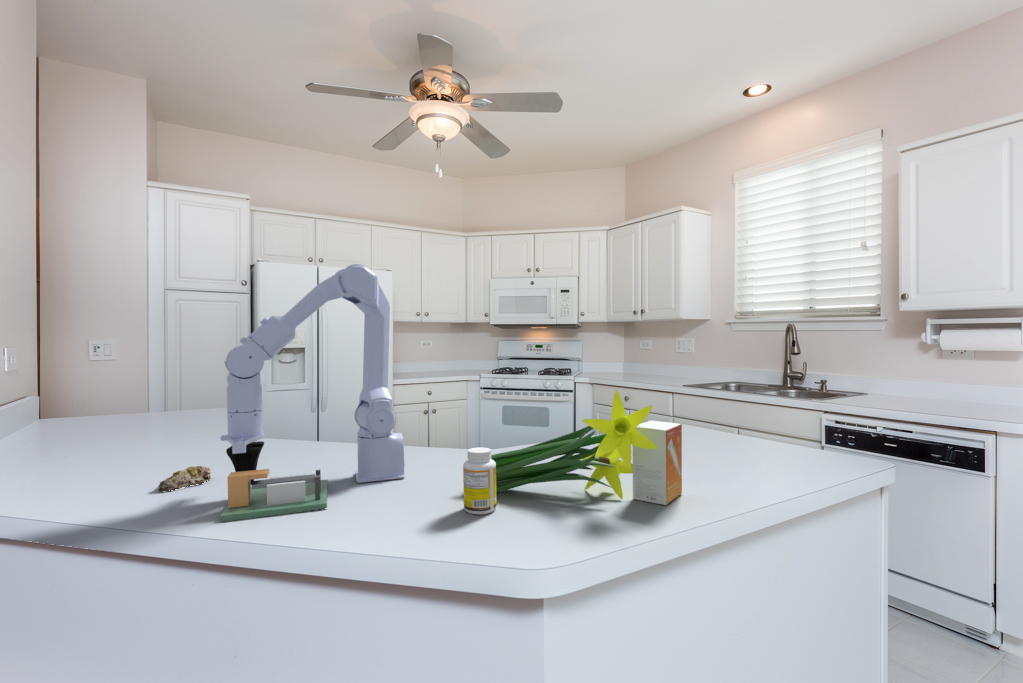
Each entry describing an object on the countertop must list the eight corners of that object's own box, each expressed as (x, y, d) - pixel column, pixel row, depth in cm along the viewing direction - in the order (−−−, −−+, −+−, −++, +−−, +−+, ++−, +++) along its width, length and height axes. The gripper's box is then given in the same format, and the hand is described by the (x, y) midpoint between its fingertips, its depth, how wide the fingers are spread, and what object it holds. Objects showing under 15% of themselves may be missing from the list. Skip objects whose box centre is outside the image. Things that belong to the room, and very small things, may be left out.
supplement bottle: (482, 502, 88) (481, 444, 88) (503, 509, 84) (502, 449, 84) (457, 509, 84) (456, 449, 84) (477, 518, 80) (477, 455, 80)
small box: (666, 506, 85) (666, 430, 84) (631, 499, 88) (631, 426, 88) (683, 494, 91) (682, 423, 91) (649, 487, 95) (649, 419, 95)
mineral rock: (187, 466, 107) (217, 457, 105) (192, 485, 107) (223, 477, 105) (140, 482, 96) (173, 473, 95) (146, 504, 96) (179, 495, 95)
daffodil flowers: (495, 478, 105) (660, 439, 98) (490, 538, 92) (679, 499, 85) (463, 420, 97) (642, 373, 89) (453, 478, 84) (660, 428, 77)
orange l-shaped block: (269, 498, 88) (269, 468, 88) (267, 503, 85) (267, 473, 85) (231, 502, 86) (230, 472, 86) (228, 507, 83) (227, 477, 83)
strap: (320, 477, 91) (320, 473, 91) (319, 482, 88) (319, 477, 88) (254, 484, 87) (253, 480, 87) (251, 490, 84) (251, 485, 84)
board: (327, 484, 99) (327, 459, 99) (326, 509, 85) (326, 480, 85) (237, 494, 94) (237, 467, 94) (220, 522, 80) (219, 491, 80)
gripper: (228, 406, 97) (229, 475, 97) (211, 418, 83) (213, 498, 84) (268, 404, 99) (269, 471, 100) (257, 415, 86) (259, 493, 86)
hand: (246, 483), depth 92 cm, fingers closed
